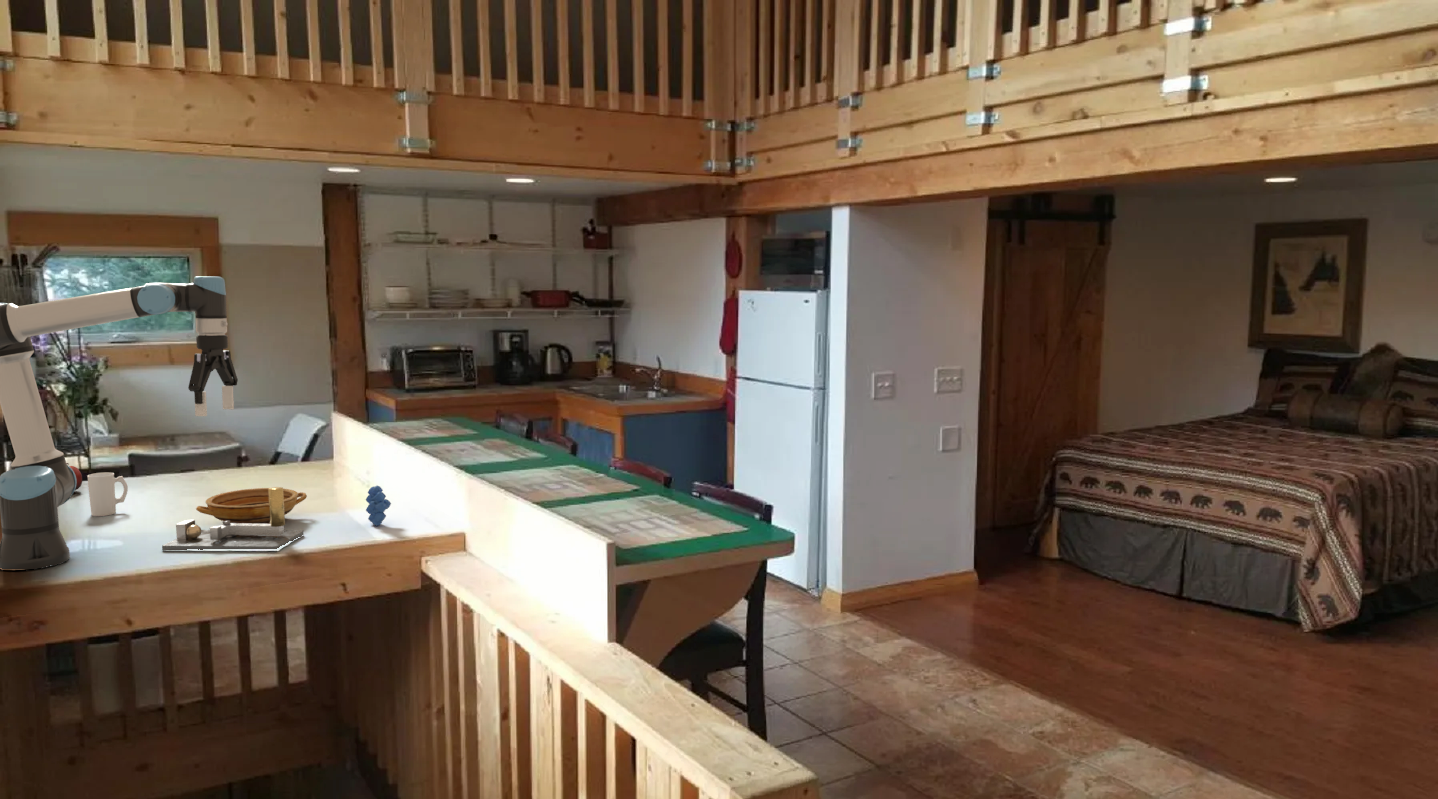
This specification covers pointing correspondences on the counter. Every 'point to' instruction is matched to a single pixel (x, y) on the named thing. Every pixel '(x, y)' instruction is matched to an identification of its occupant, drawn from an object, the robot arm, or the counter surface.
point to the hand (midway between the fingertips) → (215, 412)
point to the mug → (104, 493)
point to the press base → (225, 539)
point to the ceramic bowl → (247, 505)
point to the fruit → (77, 476)
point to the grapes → (377, 505)
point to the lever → (256, 529)
